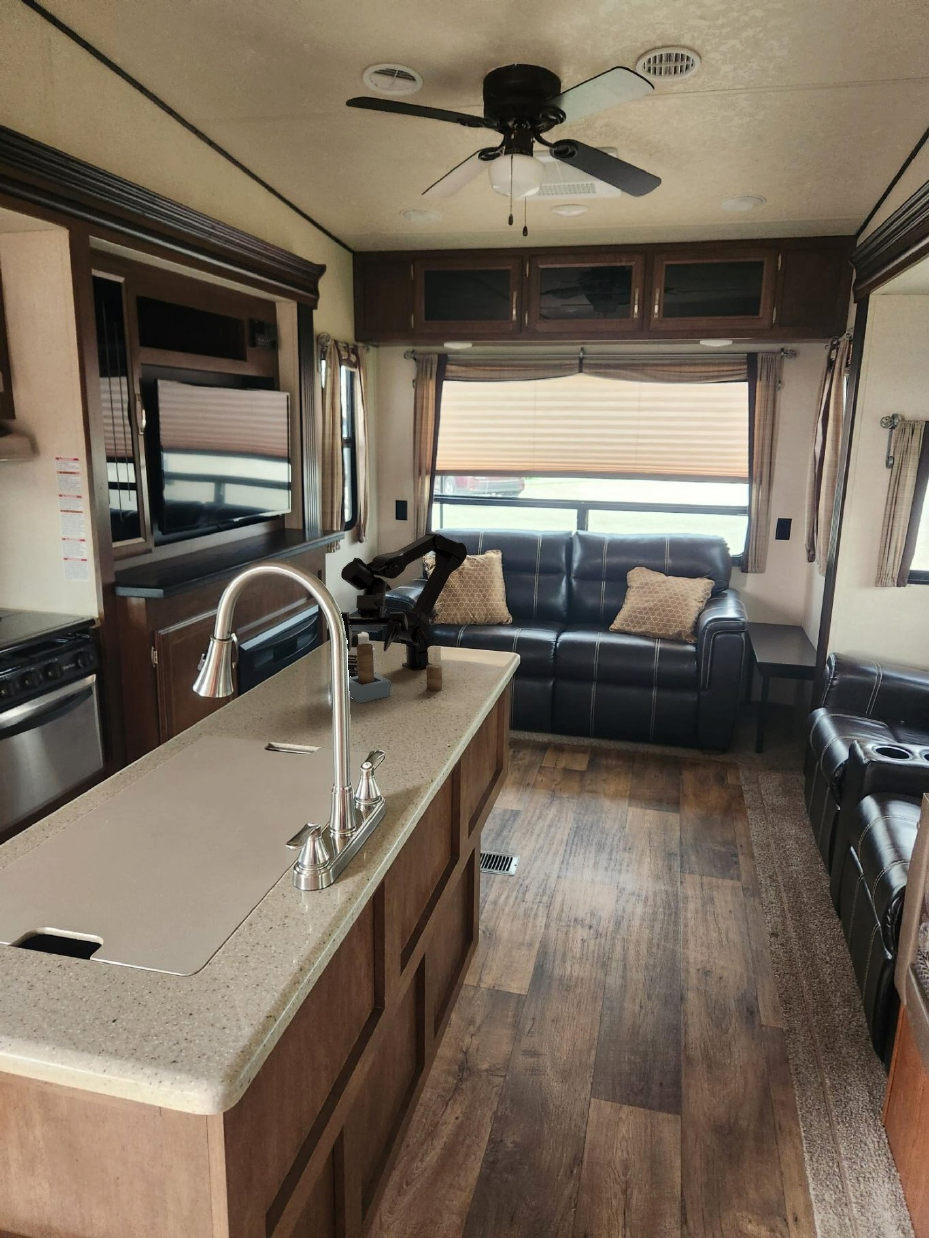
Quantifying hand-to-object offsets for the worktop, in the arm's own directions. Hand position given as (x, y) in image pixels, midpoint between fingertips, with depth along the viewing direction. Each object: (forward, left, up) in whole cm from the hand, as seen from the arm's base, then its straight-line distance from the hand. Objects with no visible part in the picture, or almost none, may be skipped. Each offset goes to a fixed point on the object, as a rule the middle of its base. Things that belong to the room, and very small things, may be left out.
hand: (366, 650), depth 210 cm
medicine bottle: (-15, +6, -11) cm, 20 cm away
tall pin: (+1, -1, -11) cm, 11 cm away
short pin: (+8, +15, -11) cm, 20 cm away
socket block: (+1, -1, -11) cm, 11 cm away
